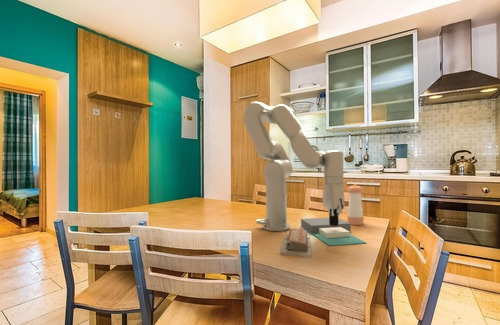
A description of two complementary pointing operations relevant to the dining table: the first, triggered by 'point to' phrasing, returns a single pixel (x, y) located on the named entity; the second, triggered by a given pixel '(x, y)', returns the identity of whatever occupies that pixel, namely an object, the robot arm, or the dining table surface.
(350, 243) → the mat
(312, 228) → the block
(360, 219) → the pepper shaker
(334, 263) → the dining table surface
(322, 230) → the cream flat block
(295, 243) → the packaged product
